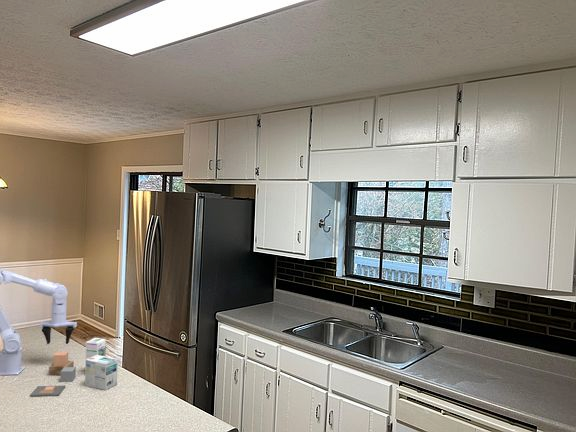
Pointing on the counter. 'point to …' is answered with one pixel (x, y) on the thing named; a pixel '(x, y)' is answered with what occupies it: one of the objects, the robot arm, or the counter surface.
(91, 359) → the light bulb box
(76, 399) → the counter surface
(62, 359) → the terracotta block
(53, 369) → the walnut block
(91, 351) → the syrup box
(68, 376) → the slate-grey block
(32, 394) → the card
